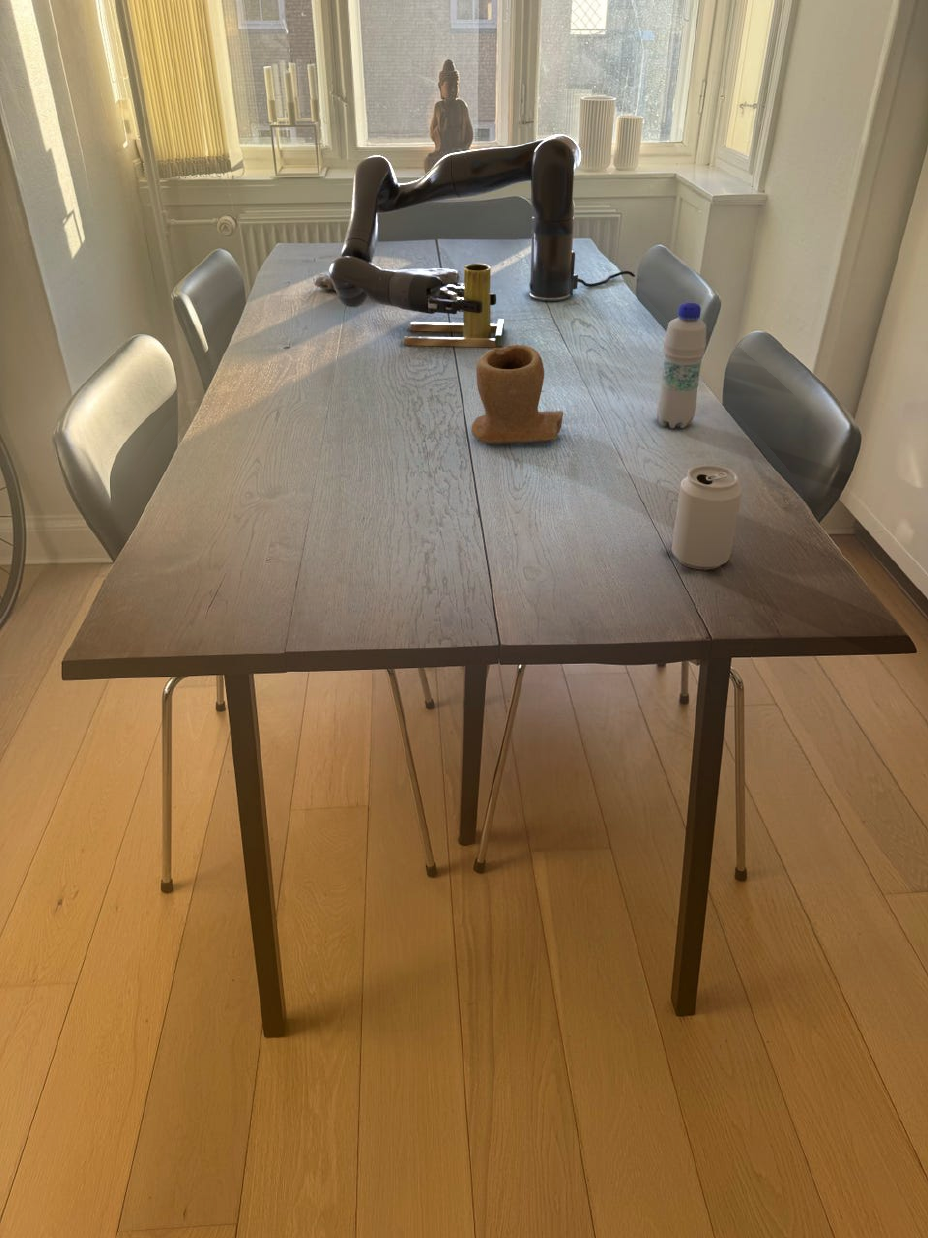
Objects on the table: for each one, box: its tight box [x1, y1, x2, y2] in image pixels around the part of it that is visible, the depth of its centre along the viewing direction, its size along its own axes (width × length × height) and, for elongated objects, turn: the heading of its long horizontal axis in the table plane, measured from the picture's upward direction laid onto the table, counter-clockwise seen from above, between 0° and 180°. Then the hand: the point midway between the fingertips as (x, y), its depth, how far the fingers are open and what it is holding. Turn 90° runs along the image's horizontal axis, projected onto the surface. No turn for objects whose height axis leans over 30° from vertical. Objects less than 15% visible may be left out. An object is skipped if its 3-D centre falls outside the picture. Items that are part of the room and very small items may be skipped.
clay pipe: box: [470, 344, 564, 445], centre depth 150 cm, size 15×12×15 cm
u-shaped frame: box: [403, 318, 505, 349], centre depth 195 cm, size 20×10×2 cm, turn 85°
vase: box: [461, 263, 493, 338], centre depth 191 cm, size 6×6×14 cm
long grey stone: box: [313, 266, 461, 291], centre depth 226 cm, size 35×5×10 cm
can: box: [670, 464, 743, 571], centre depth 120 cm, size 8×8×12 cm
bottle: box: [656, 301, 707, 429], centre depth 154 cm, size 7×7×20 cm
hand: (488, 303), depth 190 cm, fingers closed on vase, 5 cm apart
